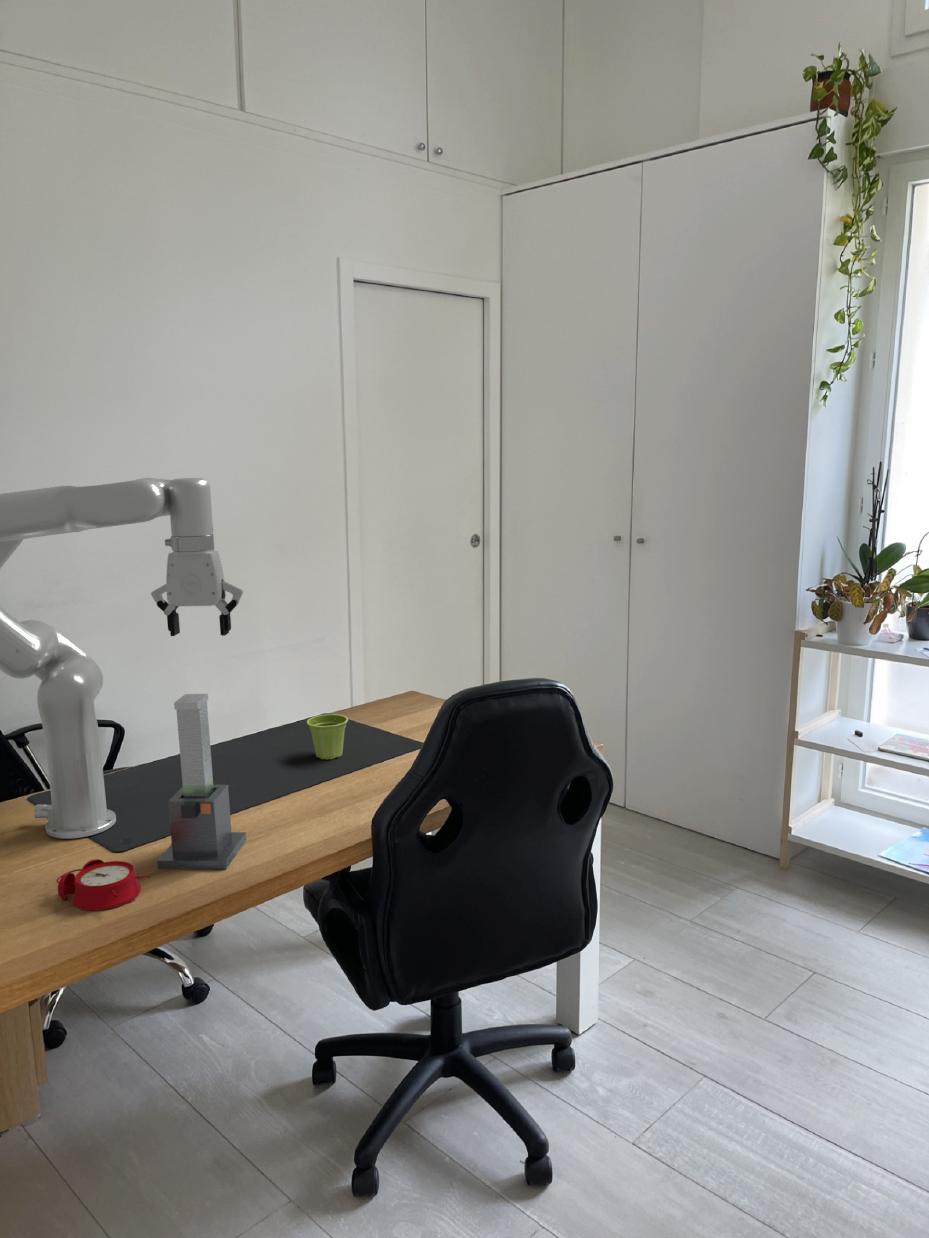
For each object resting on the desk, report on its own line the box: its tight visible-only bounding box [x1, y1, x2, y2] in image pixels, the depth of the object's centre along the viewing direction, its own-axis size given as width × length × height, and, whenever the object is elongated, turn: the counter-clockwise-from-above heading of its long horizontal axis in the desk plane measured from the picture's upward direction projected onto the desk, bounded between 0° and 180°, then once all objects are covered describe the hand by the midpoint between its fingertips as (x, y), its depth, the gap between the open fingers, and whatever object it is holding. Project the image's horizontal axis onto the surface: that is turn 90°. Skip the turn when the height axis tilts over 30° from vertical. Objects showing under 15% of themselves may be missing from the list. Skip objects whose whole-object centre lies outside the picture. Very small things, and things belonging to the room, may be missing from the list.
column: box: [173, 693, 214, 798], centre depth 163 cm, size 4×6×21 cm
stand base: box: [156, 784, 247, 870], centre depth 165 cm, size 12×12×12 cm
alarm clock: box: [55, 858, 151, 911], centre depth 152 cm, size 10×6×15 cm
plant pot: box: [306, 713, 349, 760], centre depth 217 cm, size 9×9×9 cm
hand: (200, 634), depth 178 cm, fingers open, 9 cm apart
